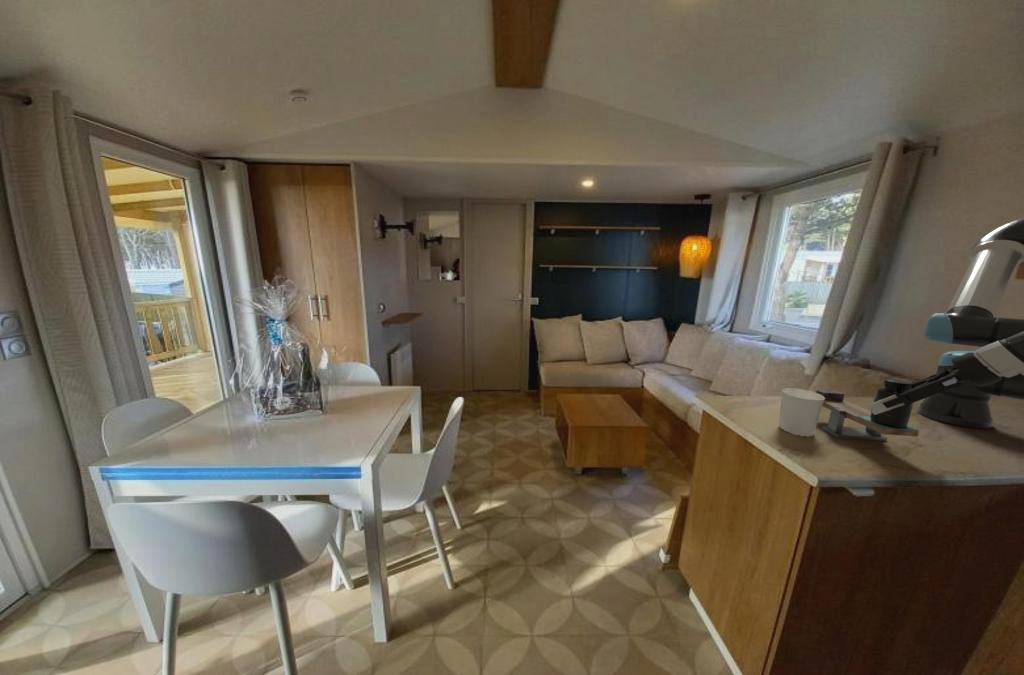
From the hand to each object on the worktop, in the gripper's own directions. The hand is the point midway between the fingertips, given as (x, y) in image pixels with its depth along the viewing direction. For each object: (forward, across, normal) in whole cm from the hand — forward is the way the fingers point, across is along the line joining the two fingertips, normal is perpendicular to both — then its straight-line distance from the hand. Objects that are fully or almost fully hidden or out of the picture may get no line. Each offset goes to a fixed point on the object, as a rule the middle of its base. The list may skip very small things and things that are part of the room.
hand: (875, 405), depth 92 cm
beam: (+7, +6, -2) cm, 9 cm away
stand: (+11, +6, -6) cm, 14 cm away
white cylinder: (+19, -6, +1) cm, 20 cm away
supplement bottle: (+1, 0, -5) cm, 5 cm away
